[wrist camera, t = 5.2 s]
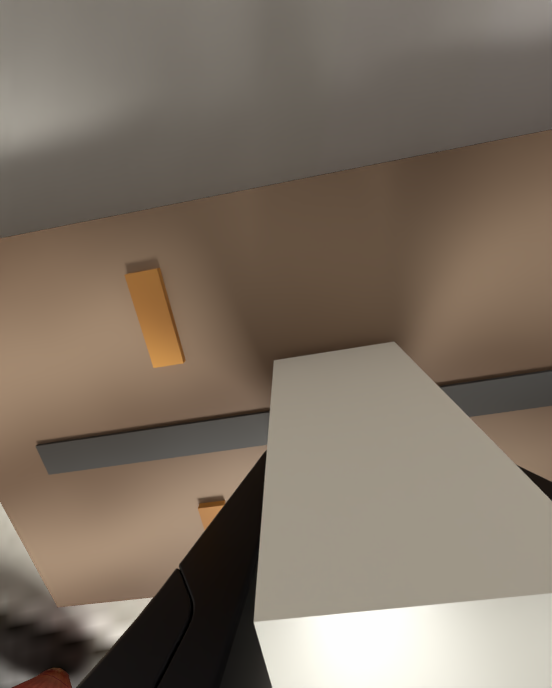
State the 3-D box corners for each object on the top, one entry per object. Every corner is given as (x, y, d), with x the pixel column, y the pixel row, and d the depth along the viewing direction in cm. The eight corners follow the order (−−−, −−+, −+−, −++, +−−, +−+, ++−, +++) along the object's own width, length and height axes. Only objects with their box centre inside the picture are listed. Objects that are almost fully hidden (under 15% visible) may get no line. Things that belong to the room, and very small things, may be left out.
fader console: (758, 477, 12) (859, 530, 10) (88, 555, 14) (53, 613, 12) (893, 72, 8) (1102, 18, 6) (-52, 257, 10) (-139, 264, 8)
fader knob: (403, 474, 10) (579, 834, 4) (298, 487, 10) (318, 846, 4) (394, 341, 8) (636, 584, 3) (274, 360, 9) (253, 622, 3)
